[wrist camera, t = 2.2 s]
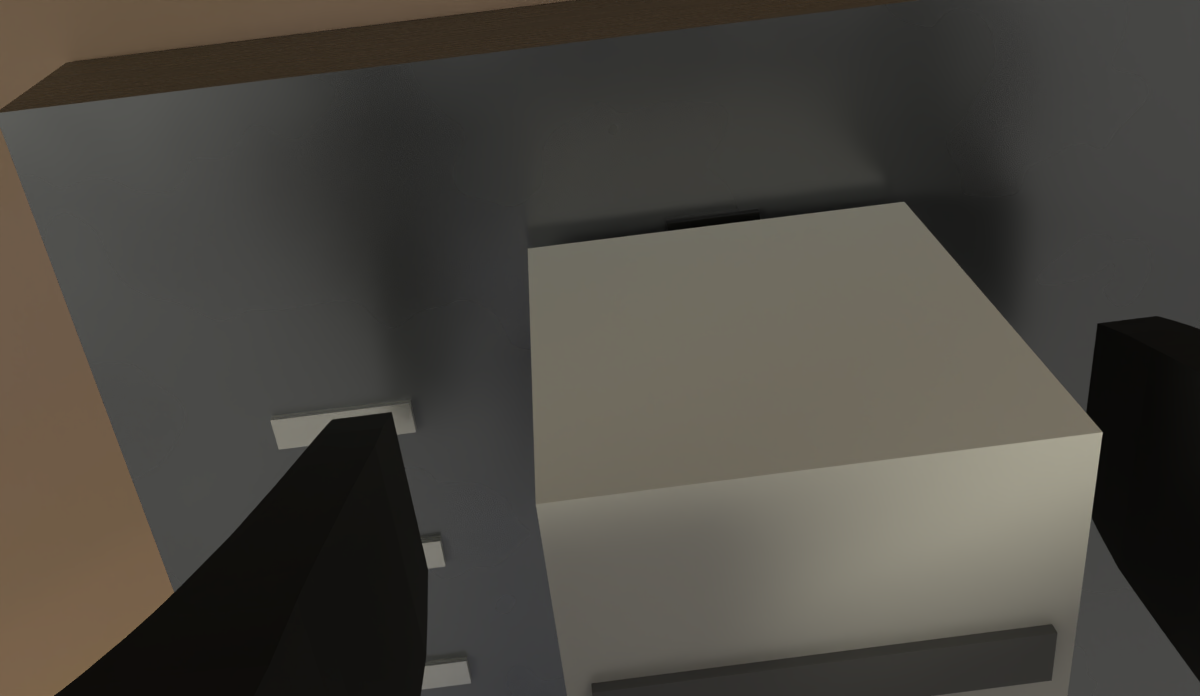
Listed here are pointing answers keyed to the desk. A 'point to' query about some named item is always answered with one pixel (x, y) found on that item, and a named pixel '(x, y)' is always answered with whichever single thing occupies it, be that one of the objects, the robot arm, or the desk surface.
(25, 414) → the desk surface
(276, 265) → the console panel
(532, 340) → the fader cap
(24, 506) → the desk surface
